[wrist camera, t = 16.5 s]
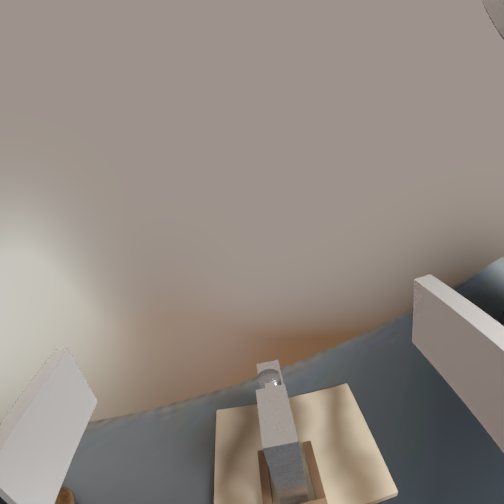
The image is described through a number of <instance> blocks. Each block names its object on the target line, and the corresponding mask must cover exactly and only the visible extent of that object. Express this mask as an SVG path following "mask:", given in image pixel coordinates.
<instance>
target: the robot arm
mask: <svg viewBox="0 0 504 504" xmlns="http://www.w3.org/2000/svg"><path fill="white" fill-rule="evenodd" d="M482 2H483V4H484V7H485V9H486V11H487V13H488V14H489V17H490V19H491V20H492V22H493V24H494V25H495V27H496V29H497V30H498V32H499V34H500V36H501V37H502V38H503V39H504V0H482ZM412 342H413V343H414V344H415V346H416V347H417V348H418V349H419V350H420V351H421V352H422V354H423V355H424V356H425V357H426V358H427V359H428V360H429V362H430V363H431V364H432V365H433V366H434V367H435V369H436V370H437V371H438V372H439V373H440V374H441V376H442V377H443V378H444V379H445V380H446V381H447V383H448V384H449V385H450V386H451V387H452V389H453V390H454V391H455V392H456V393H457V395H458V396H459V397H460V398H461V400H462V401H463V402H464V403H465V404H466V406H467V407H468V408H469V409H470V411H471V412H472V413H473V414H474V416H475V417H476V418H477V419H478V421H479V422H480V423H481V424H482V426H483V427H484V428H485V429H486V431H487V432H488V433H489V435H490V436H491V437H492V438H493V440H494V441H495V442H496V444H497V445H498V446H499V448H500V449H501V450H502V452H503V453H504V312H503V318H502V324H500V323H499V322H497V321H496V320H495V319H493V318H492V317H491V316H489V315H488V314H487V313H485V312H484V311H483V310H481V309H480V308H478V307H477V306H476V305H474V304H473V303H471V302H470V301H469V300H467V299H466V298H464V297H463V296H462V295H460V294H459V293H457V292H456V291H454V290H453V289H451V288H450V287H449V286H447V285H446V284H444V283H443V282H441V281H439V280H438V279H437V278H435V277H434V276H432V275H431V274H430V275H426V276H423V277H419V278H416V279H414V306H413V332H412ZM97 402H98V401H97V399H96V397H95V396H94V394H93V392H92V390H91V389H90V387H89V385H88V383H87V382H86V380H85V378H84V376H83V374H82V373H81V370H80V368H79V367H78V365H77V363H76V361H75V359H74V357H73V355H72V353H71V351H70V349H69V348H65V349H56V350H54V352H53V353H52V354H51V355H50V357H49V358H48V359H47V361H46V362H45V363H44V365H43V366H42V367H41V368H40V370H39V371H38V372H37V374H36V375H35V376H34V378H33V379H32V380H31V382H30V383H29V384H28V386H27V387H26V389H25V390H24V391H23V393H22V394H21V396H20V397H19V398H18V400H17V401H16V402H15V404H14V405H13V407H12V408H11V410H10V411H9V412H8V414H7V415H6V417H5V418H4V420H3V421H2V423H1V424H0V504H55V501H56V499H57V496H58V493H59V491H60V488H61V486H62V483H63V481H64V478H65V476H66V473H67V471H68V468H69V466H70V463H71V461H72V458H73V456H74V454H75V451H76V449H77V447H78V444H79V442H80V440H81V437H82V435H83V433H84V431H85V428H86V426H87V424H88V422H89V419H90V417H91V415H92V413H93V411H94V408H95V406H96V404H97Z"/></svg>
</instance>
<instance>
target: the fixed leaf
mask: <svg viewBox="0 0 504 504" xmlns="http://www.w3.org/2000/svg"><path fill="white" fill-rule="evenodd" d="M266 369H275V370H277V371H278V372H279V374H280V379H281V384H284V383H283V378H282V374H281V370H280V365H279V361H278V360H274V361H270V362H264V363H260V364H257V372H258V374H259V373H260V372H261V371H263V370H266Z"/></svg>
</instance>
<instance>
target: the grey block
mask: <svg viewBox="0 0 504 504" xmlns="http://www.w3.org/2000/svg"><path fill="white" fill-rule="evenodd" d="M257 380H258V384H259V388H260V389H257V390H256V397H257V406H258V414H259V423H260V431H261V439H262V447H263V451H264V454H265V458H266V461H267V464H268V467H269V470H270V473H271V477H272V480H273V483H274V486H275V489H276V492H277V495H278V498H279V501H280V504H298V503H303V502H308V501H309V499H308V493H307V487H306V481H305V475H304V470H303V464H302V458H301V452H300V446H299V441H298V437H297V433H296V428H295V424H294V420H293V416H292V412H291V407H290V403H289V399H288V395H287V391H286V387H285V384H281V379H280V374H279V372H278V371H277V370H275V369H266V370H263V371H261V372H260V373H259V374H258V376H257Z"/></svg>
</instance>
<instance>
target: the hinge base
mask: <svg viewBox="0 0 504 504" xmlns="http://www.w3.org/2000/svg"><path fill="white" fill-rule="evenodd" d="M288 399H289V403H290V407H291V412H292V416H293V420H294V424H295V428H296V433H297V437H298V441H299V446H300V452H301V458H302V464H303V470H304V475H305V481H306V487H307V493H308V499H309V501H308V502H303V503H298V504H375V503H378V502H381V501H384V500H387V499H390V498H392V497H395V496H397V494H398V490H397V488H396V486H395V484H394V482H393V479H392V477H391V475H390V473H389V471H388V468H387V466H386V464H385V462H384V460H383V458H382V455H381V453H380V451H379V449H378V447H377V445H376V443H375V440H374V438H373V436H372V434H371V432H370V430H369V428H368V426H367V423H366V421H365V419H364V417H363V415H362V413H361V411H360V409H359V407H358V405H357V403H356V400H355V398H354V396H353V394H352V392H351V390H350V388H349V386H348V384H347V383H346V384H342V385H339V386H335V387H331V388H327V389H323V390H319V391H315V392H311V393H307V394H302V395H298V396H294V397H289V398H288ZM214 504H280V501H279V498H278V495H277V492H276V489H275V486H274V483H273V480H272V477H271V473H270V470H269V467H268V464H267V461H266V458H265V454H264V451H263V447H262V439H261V431H260V423H259V414H258V406H257V404H253V405H247V406H241V407H234V408H228V409H221V410H217V412H216V440H215V476H214Z"/></svg>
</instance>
